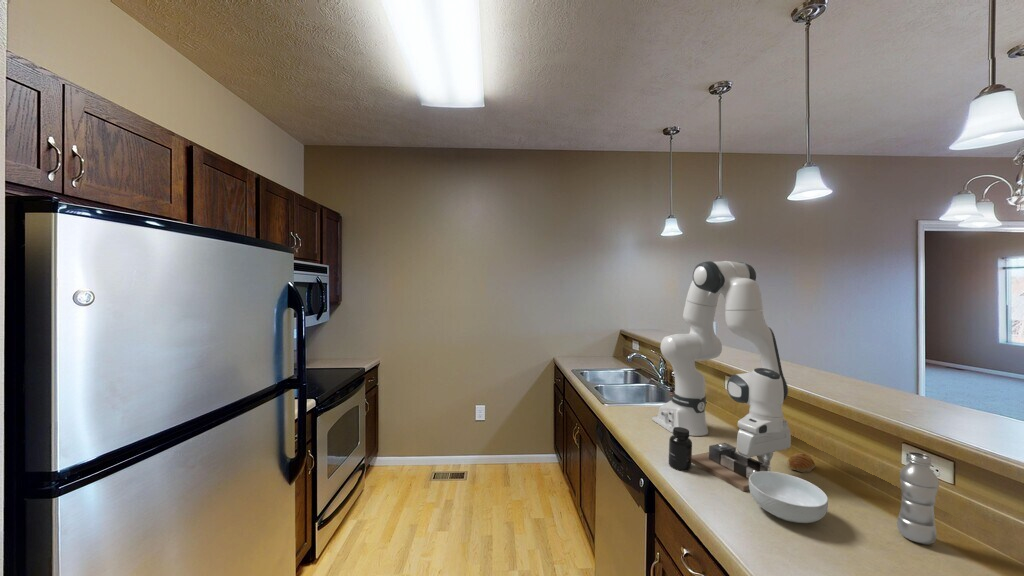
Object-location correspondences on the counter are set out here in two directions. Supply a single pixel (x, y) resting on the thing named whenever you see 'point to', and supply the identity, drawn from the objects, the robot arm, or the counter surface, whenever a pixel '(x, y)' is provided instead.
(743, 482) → the walnut board
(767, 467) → the loose tong arm
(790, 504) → the cereal bowl
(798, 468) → the pastry
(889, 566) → the counter surface
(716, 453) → the tong hinge
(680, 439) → the supplement bottle
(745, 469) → the fixed tong arm
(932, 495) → the plastic bottle
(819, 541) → the counter surface
